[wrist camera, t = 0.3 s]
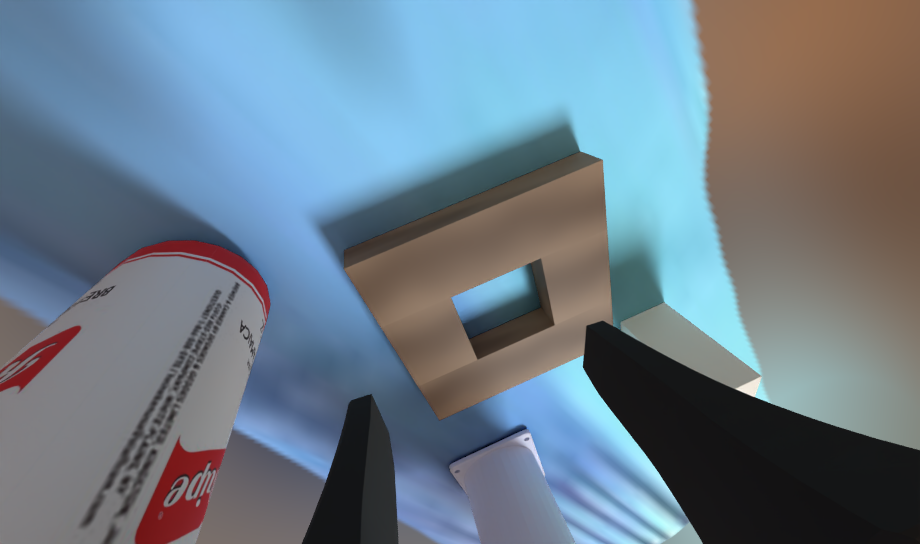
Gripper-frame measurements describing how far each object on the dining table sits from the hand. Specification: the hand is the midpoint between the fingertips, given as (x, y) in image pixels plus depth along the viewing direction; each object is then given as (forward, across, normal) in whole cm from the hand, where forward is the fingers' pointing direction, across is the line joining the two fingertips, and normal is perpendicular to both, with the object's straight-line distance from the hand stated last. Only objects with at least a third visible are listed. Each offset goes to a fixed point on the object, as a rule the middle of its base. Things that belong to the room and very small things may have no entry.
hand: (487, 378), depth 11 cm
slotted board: (+10, -4, +5) cm, 12 cm away
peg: (+10, -16, +13) cm, 23 cm away
